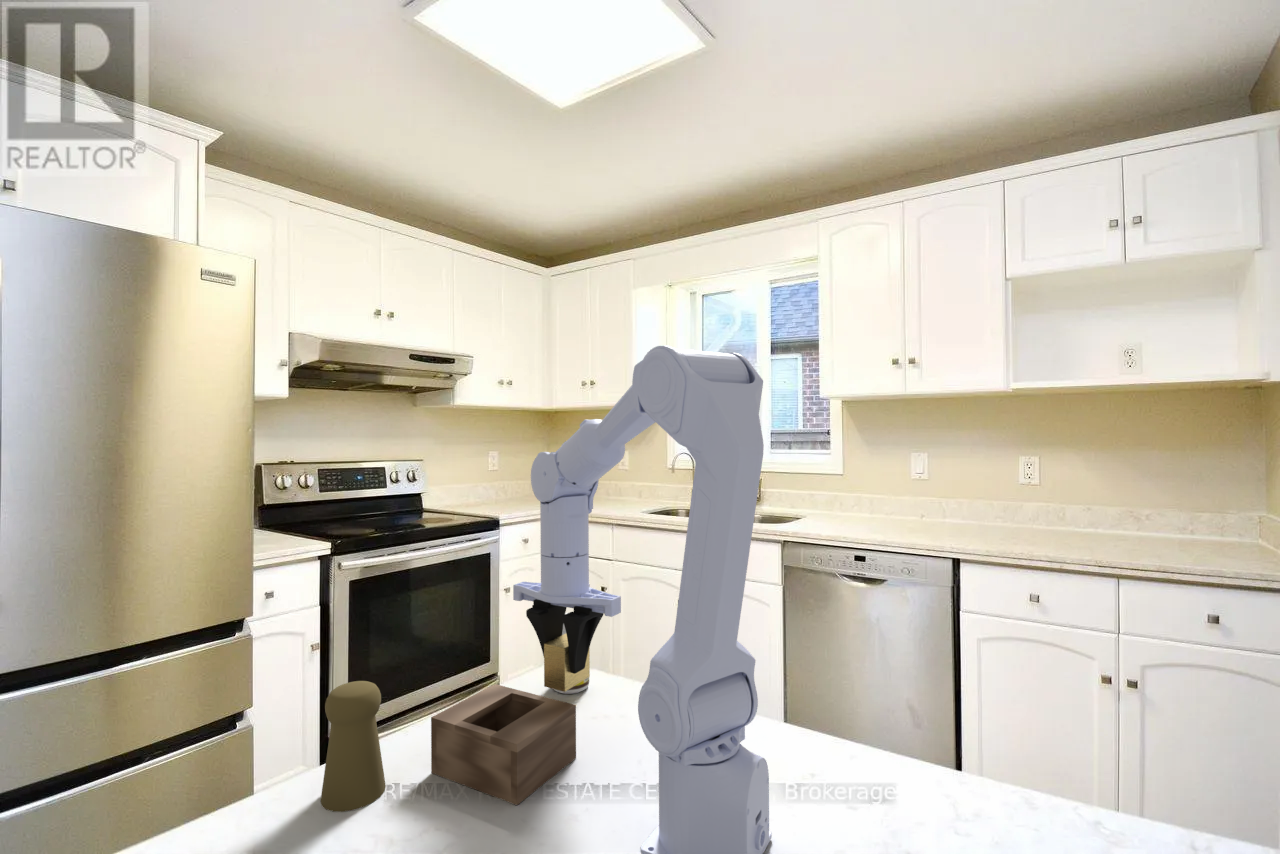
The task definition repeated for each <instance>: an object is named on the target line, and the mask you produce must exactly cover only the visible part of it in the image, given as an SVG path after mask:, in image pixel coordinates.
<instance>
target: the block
mask: <svg viewBox="0 0 1280 854" xmlns="http://www.w3.org/2000/svg"><path fill="white" fill-rule="evenodd" d="M590 647H591V646H590ZM590 647H589V651H588V655H587V659H586V664H585V668H584V669H583V670H581V671H579V672H577V673H575V674H574V673H571V672H570V667H569V648H568V639H567V634H564V635H562V636H559V637H557V638H555V639H553V640H551V641H549V642H547V643H545V644H544V656H543V663H544V665H543V669H544V670H543V681H544V682H543V686H544V687H545V688H549V689H552V690H554V689H556V690H560V691H564V692H565V691H567V690H569V689H570V688H572V687H574V686H575V685H577V684H578V683H580V682H582V681H583V680H585V679H587V678H588V677H589V678H590V675H591V673H590V671H591V669H590V663H591V661H590V651H591V649H590Z"/></svg>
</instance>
